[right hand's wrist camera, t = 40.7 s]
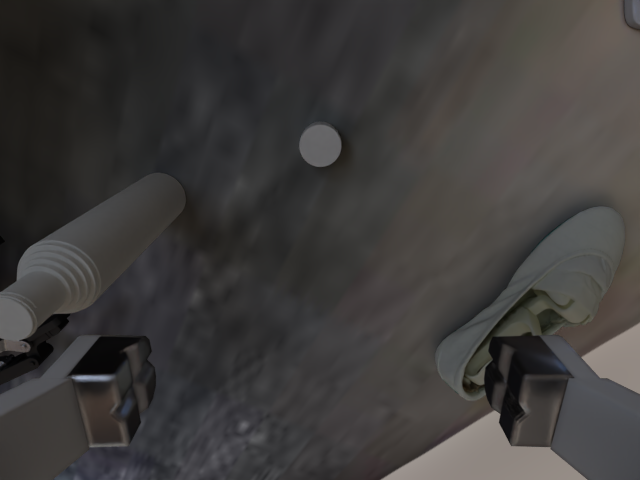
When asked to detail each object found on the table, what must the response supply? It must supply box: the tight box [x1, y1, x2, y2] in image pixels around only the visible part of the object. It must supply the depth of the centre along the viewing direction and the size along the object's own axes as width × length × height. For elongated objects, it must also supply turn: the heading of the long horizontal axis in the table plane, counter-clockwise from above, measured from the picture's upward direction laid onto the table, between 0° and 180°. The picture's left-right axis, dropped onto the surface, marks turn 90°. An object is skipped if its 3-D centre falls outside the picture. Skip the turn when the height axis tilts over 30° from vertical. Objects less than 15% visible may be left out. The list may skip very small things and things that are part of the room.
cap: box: [299, 121, 342, 167], centre depth 40 cm, size 4×4×2 cm
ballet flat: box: [435, 206, 625, 401], centre depth 43 cm, size 8×24×8 cm, turn 141°
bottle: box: [0, 173, 186, 341], centre depth 32 cm, size 5×5×23 cm
